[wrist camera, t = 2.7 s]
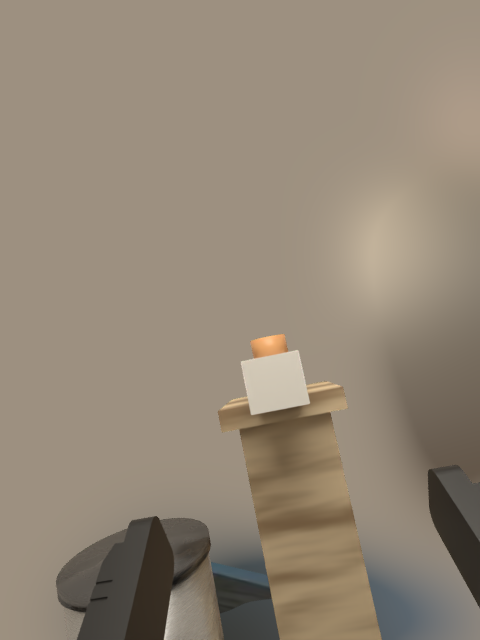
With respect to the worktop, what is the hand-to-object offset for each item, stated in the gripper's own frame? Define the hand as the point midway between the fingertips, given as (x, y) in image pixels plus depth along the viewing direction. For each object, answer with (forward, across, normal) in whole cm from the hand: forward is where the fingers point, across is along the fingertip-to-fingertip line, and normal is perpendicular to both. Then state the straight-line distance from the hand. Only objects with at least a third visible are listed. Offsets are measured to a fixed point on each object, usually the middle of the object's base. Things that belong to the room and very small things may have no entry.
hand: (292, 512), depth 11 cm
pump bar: (+23, 0, +12) cm, 26 cm away
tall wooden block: (+11, 0, +42) cm, 43 cm away
